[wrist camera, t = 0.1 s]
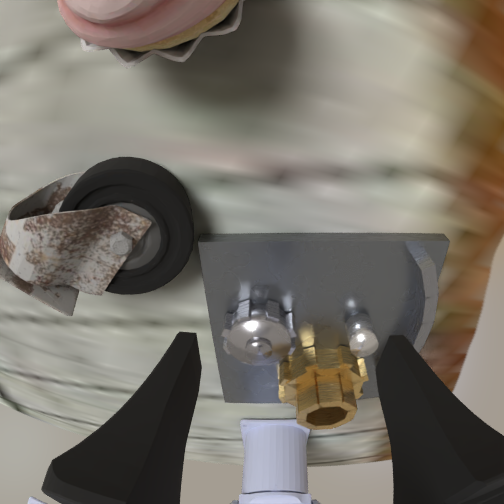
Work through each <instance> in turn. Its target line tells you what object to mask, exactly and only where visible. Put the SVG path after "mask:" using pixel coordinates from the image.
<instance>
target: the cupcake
mask: <svg viewBox="0 0 504 504" xmlns="http://www.w3.org/2000/svg"><path fill="white" fill-rule="evenodd" d="M243 1H245V0H57V2H58V6H59V11H60V13H61V15H62V17H63V19H64V21H65V22H66V24H67V25H68V26H69V28H70V29H71V30H72V31H73V32H74V33H75V34H76V35H77V36H78V37H80V38H81V46H82V49H83V51H89V52H91V51H97V50H104V49H109V50H110V51H111V52H112V54H113V55H114V56H115V58H116V59H117V60H118V62H119V63H120V64H121V65H122V66H124V67H125V68H130V67H133V66H135V65H137V64H138V63H140V62H141V61H143V60H144V59H146V58H148V57H149V56H151V55H152V54H156V55H159V56H162V57H164V58H167V59H170V60H172V61H177V62H184V61H185V60H186V59H187V58H188V57H190V56H191V54H192V53H193V51H194V50H195V48H196V47H197V45H198V44H199V42H200V41H201V40H202V38H203V37H204V36H214V35H224V34H227V33H230V32H232V31H235V30H237V28H238V26H239V23H240V21H241V18H242V7H243Z"/></svg>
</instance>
